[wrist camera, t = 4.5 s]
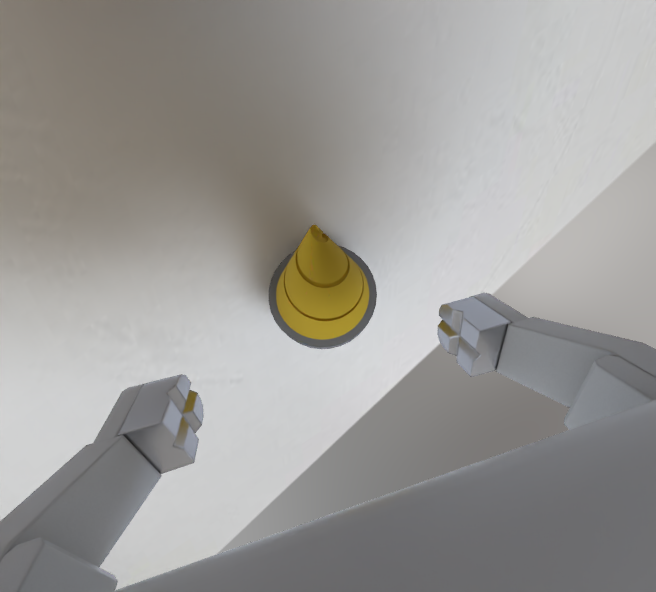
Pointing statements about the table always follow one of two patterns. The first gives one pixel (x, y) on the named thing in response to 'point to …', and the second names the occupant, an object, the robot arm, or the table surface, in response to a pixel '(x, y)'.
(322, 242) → the yellow tiered cone
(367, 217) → the table surface
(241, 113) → the table surface
